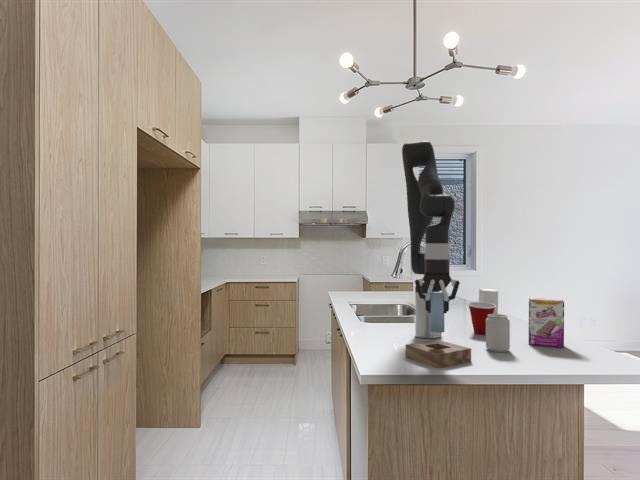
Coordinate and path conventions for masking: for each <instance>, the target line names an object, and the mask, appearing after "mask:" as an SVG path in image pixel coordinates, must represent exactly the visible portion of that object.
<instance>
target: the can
mask: <svg viewBox="0 0 640 480" xmlns="http://www.w3.org/2000/svg"><path fill="white" fill-rule="evenodd" d="M510 325H511V324H510V319H509V318H508V315H506V314H499V313H498V314H489V315H488V317H487V318H486V335H485V347H486V349H488V351H490V352H492V353H507V352H508V351H509V350H511V349H510V347H511V342H510V339H511V338H510V337H511V335H510V333H511V331H510V329H511V327H510Z"/></svg>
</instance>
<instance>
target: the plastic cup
mask: <svg viewBox="0 0 640 480" xmlns="http://www.w3.org/2000/svg"><path fill="white" fill-rule="evenodd" d="M467 305H468V308H469V312H470V317H471V323H472V328H473V333H474V334H477V335H484V336H486V318H487V317H488V315H489V314H493V313H494V309H495V308H496V305H495V304H492V303H487V302H479V301H469V302H468V303H467Z"/></svg>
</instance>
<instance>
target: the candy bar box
mask: <svg viewBox="0 0 640 480" xmlns="http://www.w3.org/2000/svg"><path fill="white" fill-rule="evenodd" d="M528 345H529V346H539V347H551V348H559V349H560V348H562V349H563V348H564V347H565V301H564V300H563V299H555V298H538V297H528Z"/></svg>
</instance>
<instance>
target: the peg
mask: <svg viewBox="0 0 640 480" xmlns="http://www.w3.org/2000/svg"><path fill="white" fill-rule="evenodd" d="M444 301H445V299H444V295H443V292H442V291H440V292H431V295H430V331H431V332H438V333H440V332H442V333H444V332H445V313H444Z"/></svg>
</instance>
